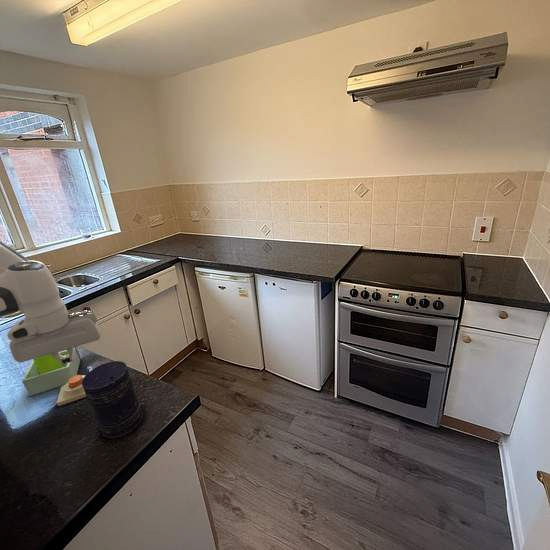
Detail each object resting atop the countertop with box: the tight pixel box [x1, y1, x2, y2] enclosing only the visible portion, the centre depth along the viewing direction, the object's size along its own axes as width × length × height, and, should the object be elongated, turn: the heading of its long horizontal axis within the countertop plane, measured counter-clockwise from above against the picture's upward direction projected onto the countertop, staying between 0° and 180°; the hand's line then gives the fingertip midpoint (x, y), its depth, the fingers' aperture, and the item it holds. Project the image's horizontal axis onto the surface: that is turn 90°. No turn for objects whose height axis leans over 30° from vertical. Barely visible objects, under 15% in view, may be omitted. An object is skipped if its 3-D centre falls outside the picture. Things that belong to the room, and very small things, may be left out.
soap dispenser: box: [32, 354, 63, 374], centre depth 92 cm, size 6×7×20 cm
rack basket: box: [21, 347, 81, 397], centre depth 95 cm, size 12×12×6 cm
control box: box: [55, 374, 87, 407], centre depth 88 cm, size 10×8×3 cm
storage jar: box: [82, 360, 144, 439], centre depth 73 cm, size 10×10×15 cm
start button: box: [68, 374, 83, 388], centre depth 87 cm, size 4×4×2 cm
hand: (67, 361), depth 85 cm, fingers closed
